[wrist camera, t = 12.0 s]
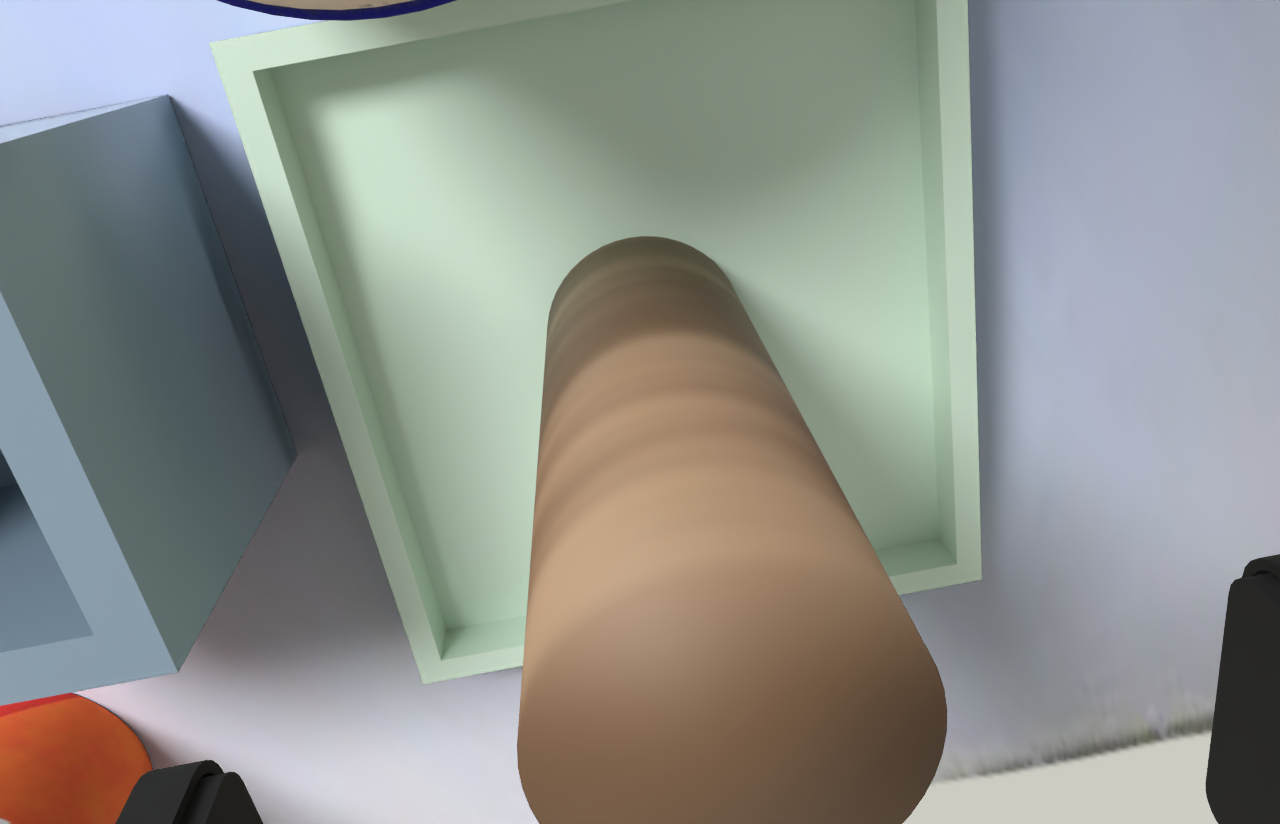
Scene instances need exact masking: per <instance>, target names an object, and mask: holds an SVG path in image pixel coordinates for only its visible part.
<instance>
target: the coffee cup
mask: <svg viewBox="0 0 1280 824" xmlns="http://www.w3.org/2000/svg"><path fill="white" fill-rule="evenodd" d="M148 771H153V768H152V764H151V761H150V758H149V755H148V753H147V751H146V749H145V747H144V746H143V744H142V742H141V741H140V740H139V738H138V737H137V736H136V734H135V733H134V732H133V731H132V730H131V729H130V728H129V727H128V726H127V725H126V724H125V723H124V722H123V721H122V720H121V719H119V718H118V717H117V716H116V715H114V714H113V713H111V712H110V711H108V710H107V709H105V708H104V707H102V706H100V705H98V704H96V703H94V702H92V701H90V700H88V699H86V698H84V697H81V696H78V695H76V694H73V693H66V694H61V695H55V696H50V697H45V698H39V699H34V700H29V701H23V702H18V703H13V704H7V705H2V706H0V824H115V823H116V821H117V819H118V817H119V815H120V813H121V811H122V809H123V807H124V805H125V803H126V801H127V799H128V797H129V795H130V793H131V791H132V789H133V787H134V786H135V784H136V783H137V781H138V780H139V778H140V777H141V776H142V775H144V774H145V773H147V772H148Z"/></svg>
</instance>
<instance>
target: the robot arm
mask: <svg viewBox="0 0 1280 824" xmlns="http://www.w3.org/2000/svg"><path fill="white" fill-rule="evenodd" d="M1206 794H1207V799H1208V802H1209V805H1210V808H1211V811H1212V813H1213V815H1214V817H1215V819H1216V821H1217V822H1218V824H1280V554H1279V555H1274V556H1268V557H1263V558H1258V559H1255V560H1252V561H1250V562H1249V563H1248V565H1247V566H1246V567H1245V569H1244V573H1243V576H1242V578H1240V579H1237V580H1235V581H1234V582H1233V583H1232V584H1231V586H1230V590H1229V595H1228V604H1227V612H1226V620H1225V628H1224V637H1223V645H1222V653H1221V661H1220V669H1219V678H1218V686H1217V694H1216V702H1215V711H1214V719H1213V727H1212V735H1211V744H1210V752H1209V760H1208V768H1207V777H1206ZM115 824H263V822H262V820H261V818H260V816H259V814H258V812H257V810H256V807H255V805H254V803H253V801H252V799H251V797H250V795H249V793H248V791H247V789H246V786H245V784H244V782H243V781H242V779H241V777H240V776H239V775H238V774H236V773H235V772H229V773H224V772H223V771H222V769H221V768H220V766H219V765H218V764H217V763H215V762H214V761H212V760H205V761H200V762H195V763H189V764H184V765H179V766H174V767H169V768H163V769H158V770H153V771H148V772H147V773H145V774H144V775H142V776H141V777H140V778H139V780H138V781H137V783H136V784H135V786H134V787H133V789H132V791H131V793H130V795H129V797H128V799H127V801H126V803H125V805H124V807H123V809H122V811H121V813H120V815H119V817H118V819H117V821H116V823H115Z"/></svg>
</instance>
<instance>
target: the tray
mask: <svg viewBox="0 0 1280 824" xmlns="http://www.w3.org/2000/svg"><path fill="white" fill-rule="evenodd" d="M209 45H210V48H211V51H212V54H213V57H214V60H215V62H216V65H217V68H218V71H219V74H220V77H221V80H222V83H223V86H224V89H225V92H226V95H227V98H228V101H229V104H230V107H231V110H232V113H233V116H234V119H235V122H236V125H237V128H238V131H239V134H240V137H241V140H242V143H243V146H244V149H245V152H246V155H247V158H248V161H249V164H250V167H251V170H252V173H253V176H254V179H255V182H256V185H257V188H258V191H259V194H260V197H261V200H262V203H263V206H264V209H265V212H266V215H267V218H268V221H269V224H270V227H271V230H272V233H273V236H274V239H275V242H276V245H277V248H278V251H279V254H280V257H281V260H282V263H283V266H284V269H285V272H286V275H287V278H288V281H289V284H290V287H291V290H292V293H293V296H294V299H295V302H296V305H297V308H298V311H299V314H300V317H301V320H302V323H303V326H304V329H305V332H306V335H307V338H308V341H309V344H310V347H311V350H312V353H313V356H314V359H315V362H316V365H317V368H318V371H319V374H320V377H321V380H322V383H323V386H324V389H325V392H326V395H327V398H328V401H329V404H330V407H331V410H332V413H333V416H334V419H335V422H336V425H337V428H338V431H339V434H340V437H341V440H342V443H343V446H344V449H345V452H346V455H347V458H348V461H349V464H350V467H351V470H352V473H353V476H354V479H355V482H356V485H357V488H358V491H359V494H360V497H361V500H362V503H363V506H364V509H365V512H366V515H367V518H368V521H369V524H370V527H371V530H372V533H373V536H374V539H375V542H376V545H377V548H378V551H379V554H380V557H381V560H382V563H383V566H384V569H385V572H386V575H387V578H388V581H389V584H390V587H391V589H392V592H393V595H394V598H395V601H396V604H397V607H398V610H399V613H400V616H401V619H402V622H403V625H404V628H405V631H406V634H407V637H408V640H409V643H410V646H411V649H412V652H413V655H414V658H415V661H416V664H417V667H418V670H419V673H420V676H421V679H422V682H423V684H428V683H434V682H439V681H444V680H450V679H455V678H460V677H466V676H471V675H476V674H482V673H487V672H492V671H498V670H503V669H508V668H514V667H519V666H523V657H524V643H525V629H526V616H527V602H528V588H529V574H530V560H531V546H532V532H533V518H534V504H535V491H536V477H537V463H538V449H539V435H540V421H541V407H542V393H543V379H544V366H545V352H546V338H547V325H548V317H549V312H550V308H551V304H552V301H553V299H554V296H555V294H556V292H557V290H558V288H559V286H560V285H561V283H562V281H563V279H564V278H565V277H566V276H567V274H568V273H569V272H570V271H571V269H572V268H573V267H574V266H575V265H576V264H578V263H579V262H580V261H581V260H582V259H583V258H585V257H586V256H587V255H589V254H590V253H591V252H593V251H595V250H597V249H599V248H600V247H602V246H604V245H607V244H609V243H612V242H614V241H618V240H622V239H626V238H631V237H639V236H656V237H663V238H669V239H673V240H676V241H680V242H682V243H685V244H687V245H689V246H692V247H694V248H695V249H697V250H699V251H700V252H702V253H704V254H705V255H706V256H707V257H709V258H710V259H711V260H712V261H714V262H715V264H716V265H717V266H718V267H719V268H720V269H721V270H722V271H723V272H724V274H725V275H726V277H727V278H728V279H729V281H730V283H731V285H732V286H733V288H734V290H735V292H736V294H737V296H738V298H739V300H740V301H741V303H742V305H743V307H744V309H745V311H746V313H747V314H748V316H749V318H750V320H751V322H752V324H753V326H754V327H755V329H756V331H757V333H758V335H759V337H760V339H761V340H762V342H763V344H764V346H765V348H766V350H767V352H768V353H769V355H770V357H771V359H772V361H773V363H774V365H775V366H776V368H777V370H778V372H779V374H780V376H781V378H782V379H783V381H784V383H785V385H786V387H787V389H788V391H789V393H790V394H791V396H792V398H793V400H794V402H795V404H796V406H797V407H798V409H799V411H800V413H801V415H802V417H803V419H804V420H805V422H806V424H807V426H808V428H809V430H810V432H811V433H812V435H813V437H814V439H815V441H816V443H817V445H818V446H819V448H820V450H821V452H822V454H823V456H824V458H825V459H826V461H827V463H828V465H829V467H830V469H831V471H832V473H833V474H834V476H835V478H836V480H837V482H838V484H839V486H840V487H841V489H842V491H843V493H844V495H845V497H846V499H847V500H848V502H849V504H850V506H851V508H852V510H853V512H854V513H855V515H856V517H857V519H858V521H859V523H860V525H861V526H862V528H863V530H864V532H865V534H866V536H867V538H868V539H869V541H870V543H871V545H872V547H873V549H874V551H875V552H876V554H877V556H878V558H879V560H880V562H881V564H882V566H883V567H884V569H885V571H886V573H887V575H888V577H889V579H890V580H891V582H892V584H893V586H894V588H895V590H896V592H897V593H898V595H903V594H908V593H914V592H919V591H924V590H930V589H935V588H940V587H946V586H951V585H956V584H962V583H967V582H972V581H978V580H982V567H981V526H980V485H979V444H978V403H977V362H976V321H975V280H974V239H973V198H972V157H971V116H970V75H969V34H968V0H457V1H453V2H450V3H447V4H443V5H440V6H437V7H433V8H430V9H427V10H424V11H419V12H414V13H409V14H403V15H398V16H393V17H387V18H377V19H364V20H352V21H339V20H329V21H323V22H318V23H313V24H307V25H302V26H296V27H291V28H286V29H280V30H275V31H270V32H264V33H259V34H253V35H248V36H243V37H237V38H232V39H227V40H221V41H216V42H211V43H209Z"/></svg>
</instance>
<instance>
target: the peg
mask: <svg viewBox="0 0 1280 824" xmlns="http://www.w3.org/2000/svg"><path fill="white" fill-rule="evenodd" d="M946 732H947V706H946V699H945V692H944V687H943V684H942V681H941V678H940V675H939V672H938V669H937V666H936V664H935V663H934V661H933V659H932V657H931V655H930V653H929V651H928V649H927V647H926V646H925V644H924V642H923V640H922V638H921V636H920V634H919V632H918V631H917V629H916V627H915V625H914V623H913V621H912V619H911V618H910V616H909V614H908V612H907V610H906V608H905V606H904V605H903V603H902V601H901V599H900V597H899V595H898V593H897V592H896V590H895V588H894V586H893V584H892V582H891V580H890V579H889V577H888V575H887V573H886V571H885V569H884V567H883V566H882V564H881V562H880V560H879V558H878V556H877V554H876V552H875V551H874V549H873V547H872V545H871V543H870V541H869V539H868V538H867V536H866V534H865V532H864V530H863V528H862V526H861V525H860V523H859V521H858V519H857V517H856V515H855V513H854V512H853V510H852V508H851V506H850V504H849V502H848V500H847V499H846V497H845V495H844V493H843V491H842V489H841V487H840V486H839V484H838V482H837V480H836V478H835V476H834V474H833V473H832V471H831V469H830V467H829V465H828V463H827V461H826V459H825V458H824V456H823V454H822V452H821V450H820V448H819V446H818V445H817V443H816V441H815V439H814V437H813V435H812V433H811V432H810V430H809V428H808V426H807V424H806V422H805V420H804V419H803V417H802V415H801V413H800V411H799V409H798V407H797V406H796V404H795V402H794V400H793V398H792V396H791V394H790V393H789V391H788V389H787V387H786V385H785V383H784V381H783V379H782V378H781V376H780V374H779V372H778V370H777V368H776V366H775V365H774V363H773V361H772V359H771V357H770V355H769V353H768V352H767V350H766V348H765V346H764V344H763V342H762V340H761V339H760V337H759V335H758V333H757V331H756V329H755V327H754V326H753V324H752V322H751V320H750V318H749V316H748V314H747V313H746V311H745V309H744V307H743V305H742V303H741V301H740V300H739V298H738V296H737V294H736V292H735V290H734V288H733V286H732V285H731V283H730V281H729V279H728V278H727V277H726V275H725V274H724V272H723V271H722V270H721V269H720V268H719V267H718V266H717V265H716V264H715V262H714V261H712V260H711V259H710V258H709V257H707V256H706V255H705V254H704V253H702V252H700V251H699V250H697V249H695V248H694V247H692V246H689V245H687V244H685V243H682V242H680V241H676V240H673V239H669V238H663V237H656V236H639V237H631V238H626V239H622V240H618V241H614V242H612V243H609V244H607V245H604V246H602V247H600V248H599V249H597V250H595V251H593V252H591V253H590V254H589V255H587V256H586V257H585V258H583V259H582V260H581V261H580V262H579V263H578V264H576V265H575V266H574V267H573V268H572V269H571V271H570V272H569V273H568V274H567V276H566V277H565V278H564V279H563V281H562V283H561V285H560V286H559V288H558V290H557V292H556V294H555V296H554V299H553V301H552V304H551V308H550V312H549V317H548V325H547V338H546V352H545V366H544V379H543V393H542V407H541V421H540V435H539V449H538V463H537V477H536V491H535V504H534V518H533V532H532V546H531V560H530V574H529V588H528V602H527V616H526V629H525V643H524V657H523V671H522V685H521V699H520V713H519V727H518V740H517V753H518V769H519V774H520V779H521V783H522V788H523V791H524V793H525V796H526V798H527V801H528V803H529V806H530V808H531V810H532V812H533V814H534V815H535V817H536V819H537V820H538V822H539V824H902V823H903V822H904V821H905V820H906V819H907V818H908V817H909V816H910V815H911V813H912V812H913V810H914V809H915V807H916V806H917V805H918V803H919V802H920V800H921V799H922V797H923V796H924V795H925V793H926V791H927V789H928V787H929V785H930V783H931V781H932V780H933V778H934V776H935V773H936V770H937V768H938V765H939V762H940V759H941V756H942V753H943V748H944V743H945V738H946Z"/></svg>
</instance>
